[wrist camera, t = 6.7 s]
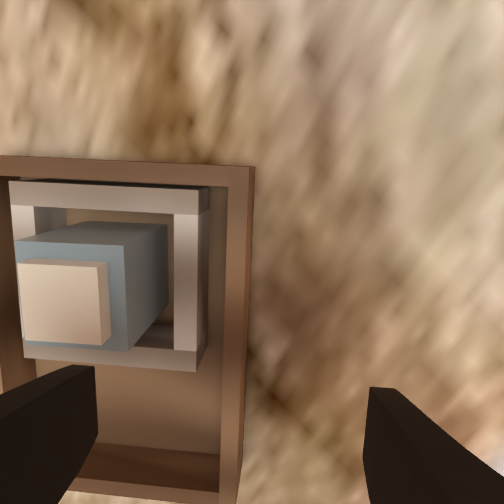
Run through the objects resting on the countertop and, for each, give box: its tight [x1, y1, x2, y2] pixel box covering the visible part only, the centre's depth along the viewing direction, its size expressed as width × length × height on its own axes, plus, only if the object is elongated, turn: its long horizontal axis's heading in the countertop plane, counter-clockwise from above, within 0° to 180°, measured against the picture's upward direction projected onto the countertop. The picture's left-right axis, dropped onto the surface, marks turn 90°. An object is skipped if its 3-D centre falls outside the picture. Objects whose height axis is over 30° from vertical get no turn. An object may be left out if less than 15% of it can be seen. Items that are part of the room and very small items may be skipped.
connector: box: [14, 221, 169, 352], centre depth 17 cm, size 4×4×6 cm
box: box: [0, 155, 255, 504], centre depth 19 cm, size 16×12×3 cm
